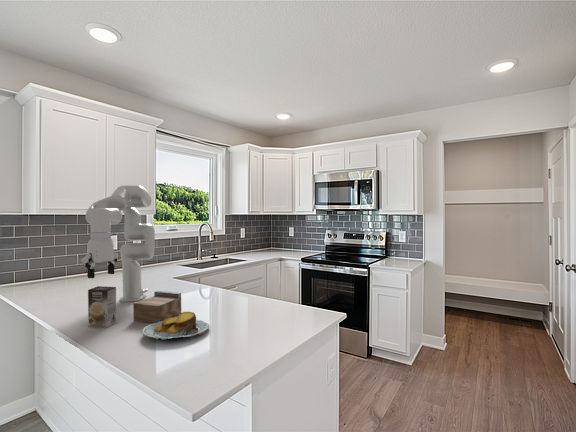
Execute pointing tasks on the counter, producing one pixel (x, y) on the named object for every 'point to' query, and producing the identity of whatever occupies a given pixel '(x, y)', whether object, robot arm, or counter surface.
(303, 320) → the counter surface
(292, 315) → the counter surface
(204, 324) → the food on plate
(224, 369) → the counter surface
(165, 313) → the display stand
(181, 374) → the counter surface
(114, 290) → the coffee box
